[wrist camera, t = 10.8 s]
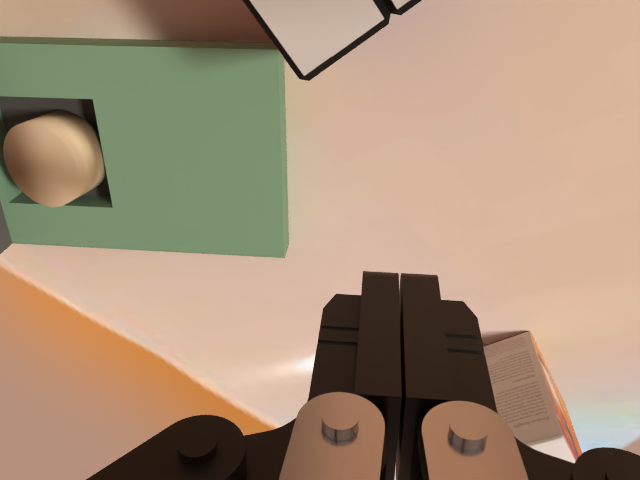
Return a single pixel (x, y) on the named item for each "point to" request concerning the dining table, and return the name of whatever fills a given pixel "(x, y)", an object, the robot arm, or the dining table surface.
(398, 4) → the puzzle cube
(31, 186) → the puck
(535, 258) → the dining table surface
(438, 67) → the dining table surface
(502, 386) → the small box
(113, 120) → the green flat block
